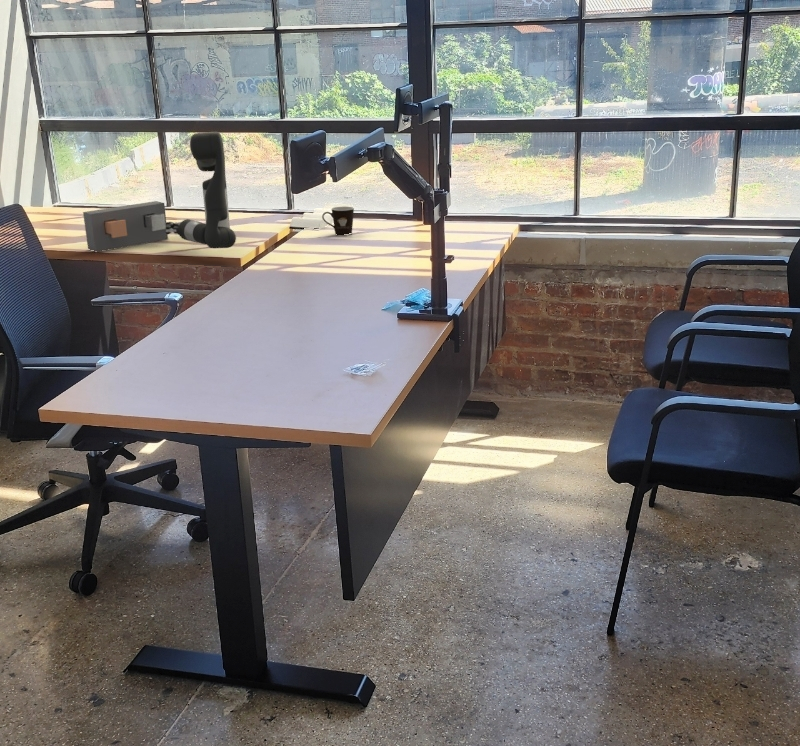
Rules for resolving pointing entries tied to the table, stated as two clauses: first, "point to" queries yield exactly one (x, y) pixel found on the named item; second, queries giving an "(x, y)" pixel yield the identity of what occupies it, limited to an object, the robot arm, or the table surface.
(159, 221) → the grey plunger
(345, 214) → the coffee mug
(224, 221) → the robot arm
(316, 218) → the file organizer
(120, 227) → the terracotta plunger
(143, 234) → the press panel
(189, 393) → the table surface
